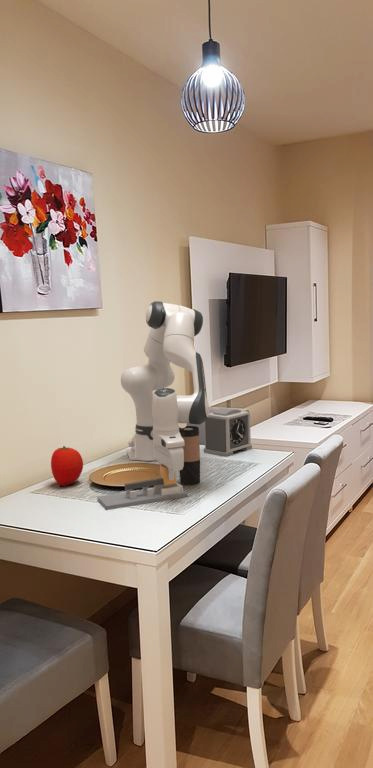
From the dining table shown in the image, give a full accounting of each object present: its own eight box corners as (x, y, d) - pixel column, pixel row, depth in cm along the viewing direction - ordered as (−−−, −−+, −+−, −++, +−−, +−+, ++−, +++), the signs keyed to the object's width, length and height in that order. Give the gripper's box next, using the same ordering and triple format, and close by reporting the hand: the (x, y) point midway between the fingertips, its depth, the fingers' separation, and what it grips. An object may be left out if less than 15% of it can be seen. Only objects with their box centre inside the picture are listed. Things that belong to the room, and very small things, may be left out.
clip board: (97, 500, 208) (97, 489, 207) (175, 487, 218) (175, 477, 218) (106, 509, 198) (105, 498, 197) (187, 496, 208) (187, 486, 208)
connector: (171, 480, 213) (170, 463, 212) (175, 483, 210) (175, 466, 209) (123, 487, 207) (122, 470, 206) (127, 491, 203) (126, 473, 202)
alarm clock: (226, 457, 258) (224, 413, 256) (202, 452, 267) (201, 410, 265) (253, 448, 272) (252, 407, 269) (229, 444, 281) (228, 404, 278)
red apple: (61, 478, 235) (59, 441, 233) (89, 479, 232) (87, 442, 230) (45, 488, 223) (43, 449, 221) (74, 490, 220) (72, 450, 218)
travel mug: (198, 486, 220) (196, 430, 217) (177, 485, 221) (175, 430, 218) (202, 479, 227) (200, 425, 224) (182, 479, 229) (180, 425, 226)
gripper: (147, 432, 217) (149, 471, 219) (168, 444, 198) (170, 486, 200) (164, 430, 219) (165, 469, 221) (186, 442, 201) (188, 483, 202)
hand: (168, 477), depth 210 cm, fingers closed on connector, 4 cm apart
